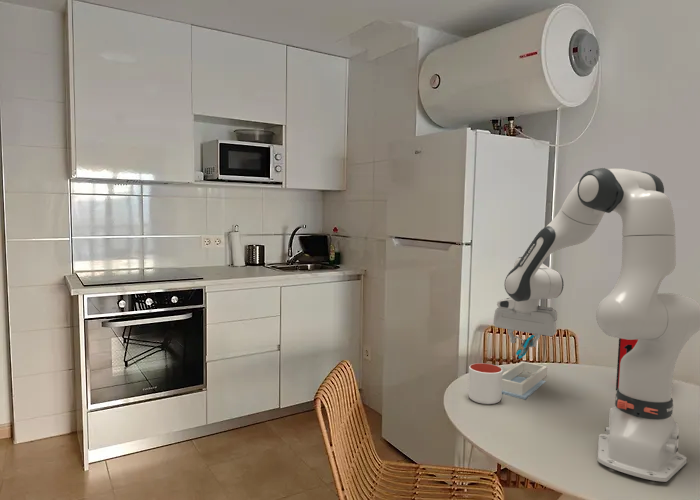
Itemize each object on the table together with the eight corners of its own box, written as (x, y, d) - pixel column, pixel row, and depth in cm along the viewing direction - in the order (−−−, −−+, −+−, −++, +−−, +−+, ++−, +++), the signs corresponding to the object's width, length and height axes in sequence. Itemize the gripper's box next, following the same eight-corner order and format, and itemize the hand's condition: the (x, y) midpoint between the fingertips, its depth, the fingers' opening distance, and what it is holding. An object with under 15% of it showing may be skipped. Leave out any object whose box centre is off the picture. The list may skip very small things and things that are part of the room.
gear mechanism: (512, 368, 158) (524, 344, 155) (497, 359, 161) (509, 335, 158) (529, 354, 174) (541, 332, 172) (515, 347, 177) (526, 324, 174)
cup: (467, 403, 149) (469, 371, 148) (467, 392, 158) (469, 361, 158) (502, 407, 146) (503, 374, 146) (500, 395, 156) (501, 364, 155)
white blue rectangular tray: (525, 400, 152) (526, 386, 152) (488, 391, 160) (488, 377, 159) (551, 379, 173) (552, 366, 173) (518, 371, 181) (518, 359, 180)
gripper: (560, 307, 160) (558, 348, 161) (499, 298, 173) (497, 337, 174) (554, 309, 155) (552, 352, 157) (492, 301, 168) (490, 340, 169)
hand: (523, 344), depth 165 cm, fingers closed on gear mechanism, 5 cm apart
